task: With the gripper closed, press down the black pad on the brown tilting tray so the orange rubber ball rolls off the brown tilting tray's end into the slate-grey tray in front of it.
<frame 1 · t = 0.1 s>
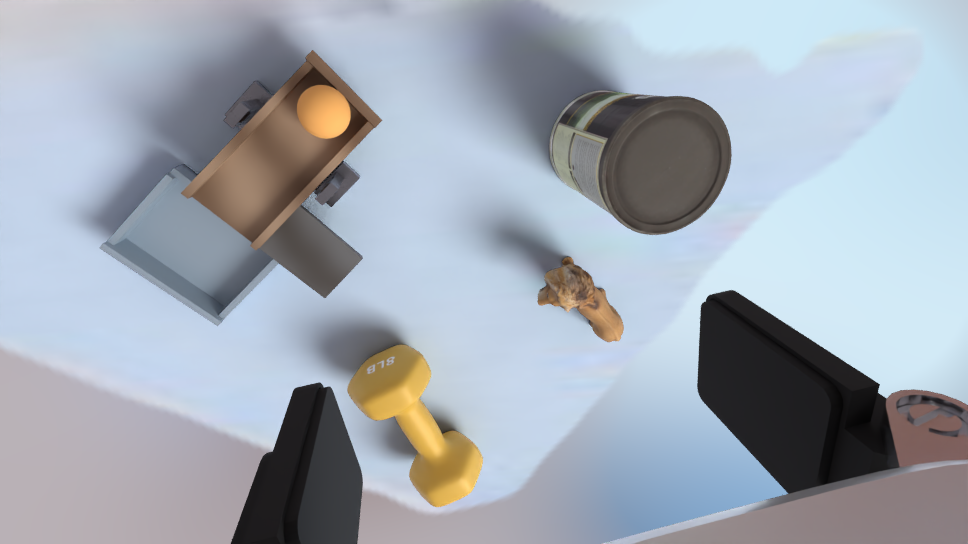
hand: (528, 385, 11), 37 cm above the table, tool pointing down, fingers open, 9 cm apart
brown tilting tray: (319, 184, 40), point 5 cm above the table, hinge at -10.0°, touching ball
lion figurine: (571, 288, 54), on the table
dumbbell: (418, 402, 57), on the table
lever stand: (297, 146, 43), on the table
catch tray: (207, 242, 45), on the table
ball: (324, 112, 37), point 6 cm above the table, touching brown tilting tray
coffee can: (595, 143, 48), on the table
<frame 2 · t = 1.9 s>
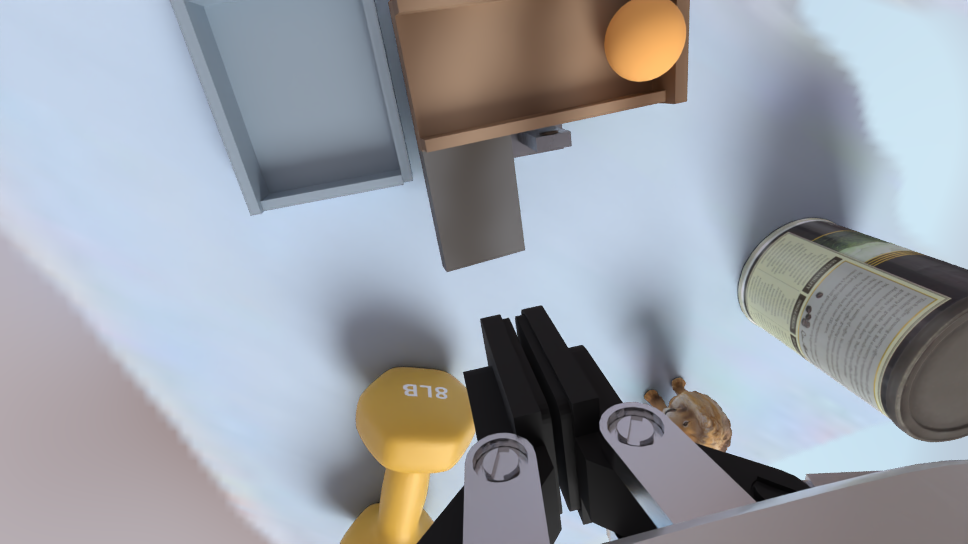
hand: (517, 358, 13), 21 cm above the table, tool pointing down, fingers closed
brown tilting tray: (549, 123, 26), point 5 cm above the table, hinge at -10.0°, touching ball
lion figurine: (657, 412, 43), on the table
dumbbell: (404, 449, 40), on the table
lever stand: (521, 59, 29), on the table
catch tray: (313, 94, 28), on the table
ball: (644, 39, 24), point 6 cm above the table, touching brown tilting tray
coffee can: (790, 274, 40), on the table
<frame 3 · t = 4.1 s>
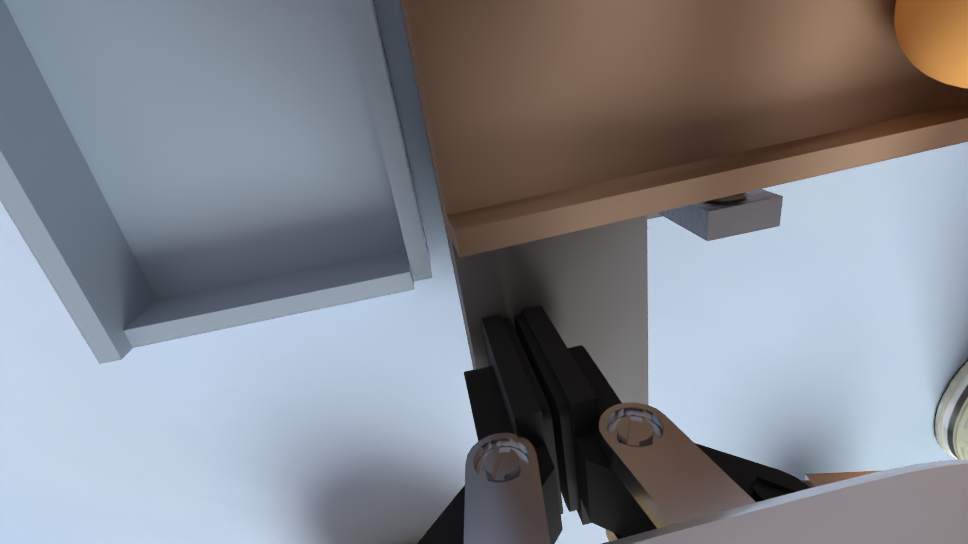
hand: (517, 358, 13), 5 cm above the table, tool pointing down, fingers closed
brown tilting tray: (729, 178, 12), point 5 cm above the table, hinge at -3.5°, touching ball, gripper
lever stand: (643, 40, 15), on the table
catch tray: (233, 111, 14), on the table
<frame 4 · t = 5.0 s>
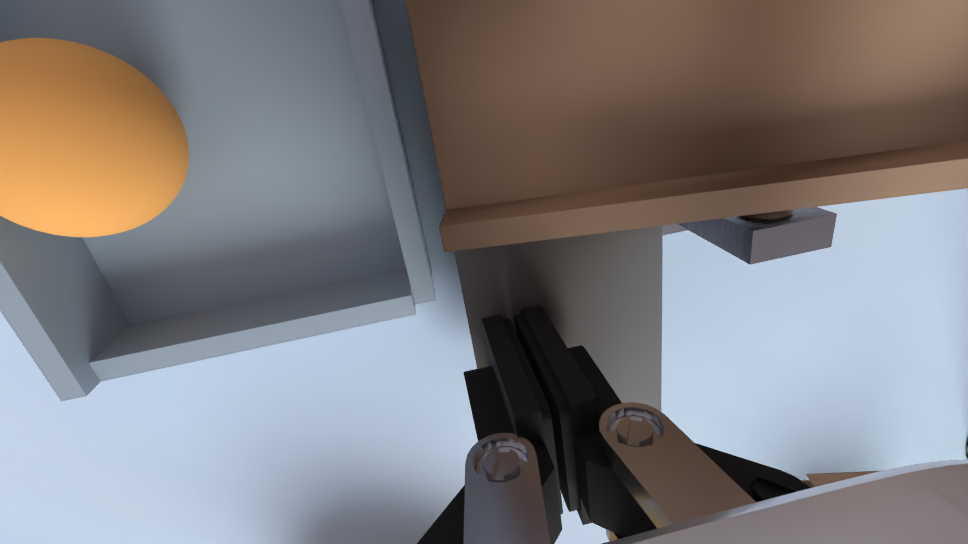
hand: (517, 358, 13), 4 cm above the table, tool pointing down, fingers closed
brown tilting tray: (770, 192, 11), point 5 cm above the table, hinge at 12.3°, touching gripper
lever stand: (668, 38, 14), on the table
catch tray: (213, 116, 13), on the table
ball: (77, 143, 10), point 3 cm above the table, tilted 110°
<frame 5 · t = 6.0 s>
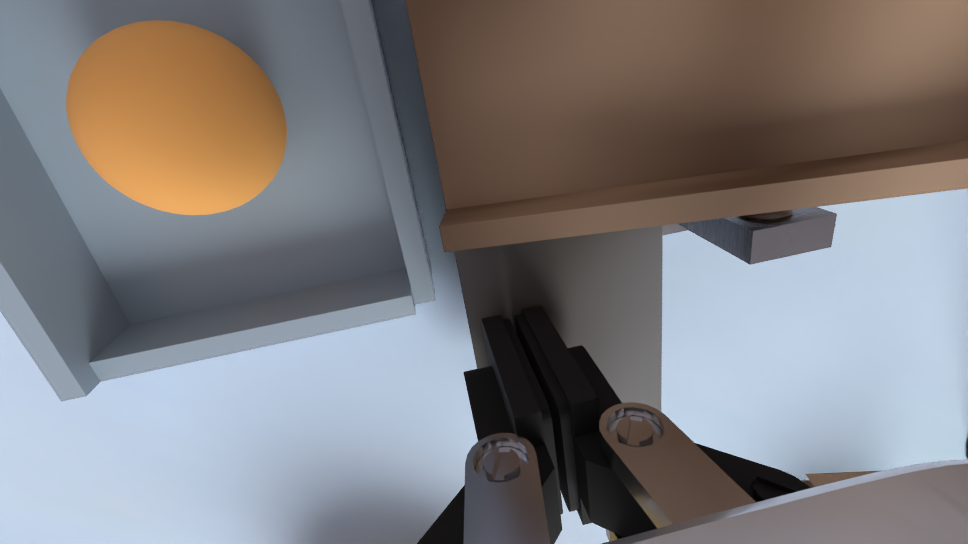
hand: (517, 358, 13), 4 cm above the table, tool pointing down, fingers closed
brown tilting tray: (770, 192, 11), point 5 cm above the table, hinge at 12.3°, touching gripper
lever stand: (668, 38, 14), on the table
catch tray: (213, 116, 13), on the table
ball: (188, 123, 10), point 3 cm above the table, tilted 163°, touching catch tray
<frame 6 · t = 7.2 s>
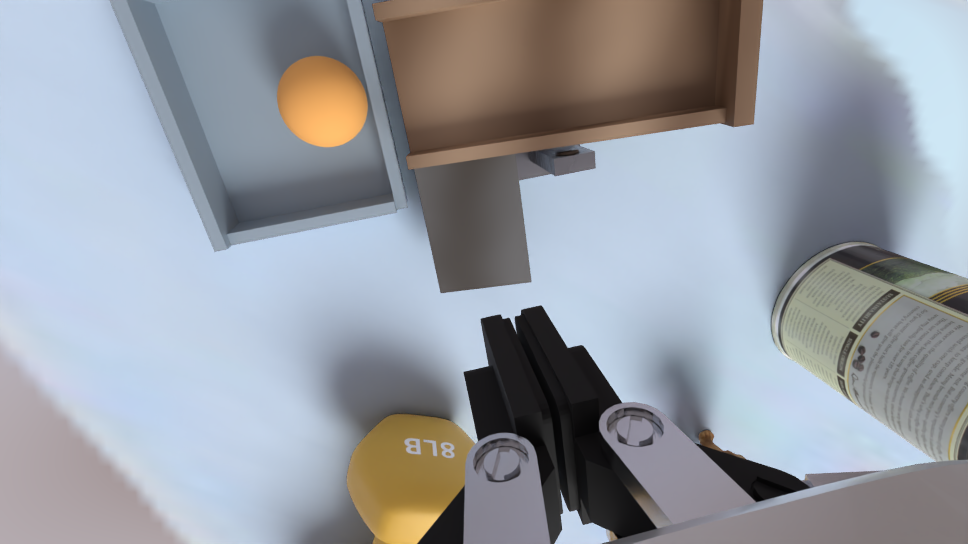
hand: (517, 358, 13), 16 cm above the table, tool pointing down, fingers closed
brown tilting tray: (566, 142, 22), point 5 cm above the table, hinge at 12.3°
dumbbell: (395, 503, 36), on the table
lever stand: (533, 66, 25), on the table
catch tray: (289, 107, 24), on the table
ball: (323, 103, 22), point 3 cm above the table, tilted 148°, touching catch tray
coffee can: (828, 303, 36), on the table
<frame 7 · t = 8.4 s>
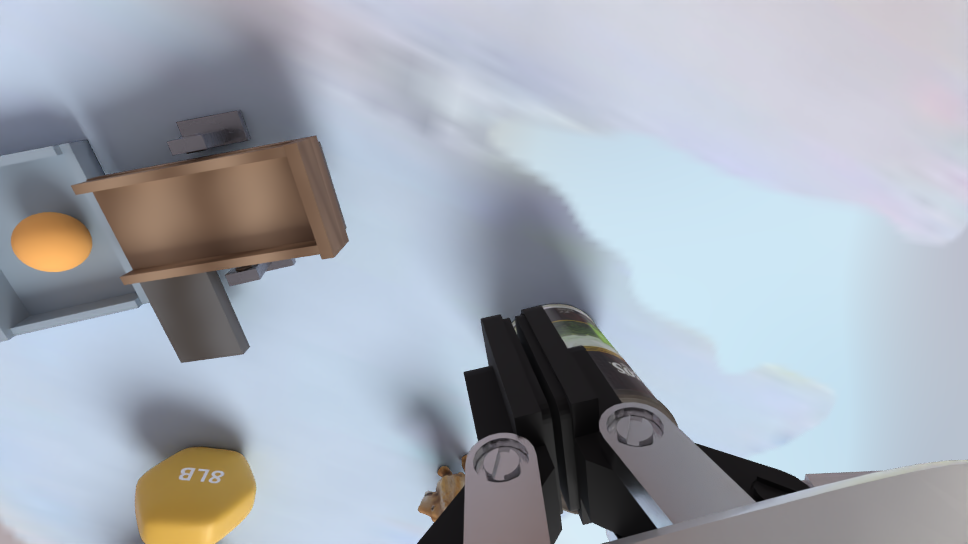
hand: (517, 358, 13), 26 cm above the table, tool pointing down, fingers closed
brown tilting tray: (240, 261, 32), point 5 cm above the table, hinge at 12.3°
lion figurine: (456, 483, 49), on the table
dumbbell: (207, 516, 45), on the table
lever stand: (242, 196, 35), on the table
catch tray: (58, 235, 33), on the table
ball: (53, 242, 31), point 3 cm above the table, tilted 170°, touching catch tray
coffee can: (547, 350, 45), on the table
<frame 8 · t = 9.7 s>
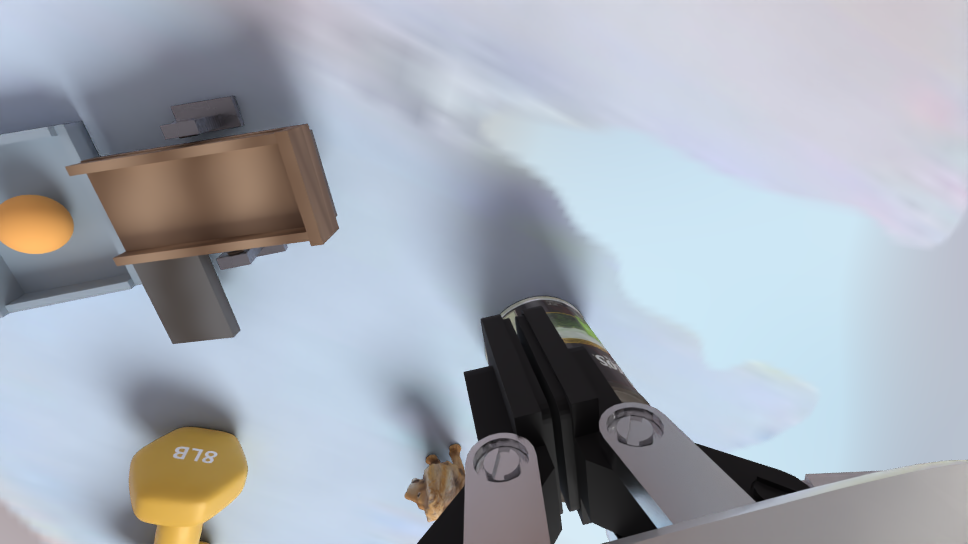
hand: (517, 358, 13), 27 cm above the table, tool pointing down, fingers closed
brown tilting tray: (231, 246, 32), point 5 cm above the table, hinge at 12.3°
lion figurine: (443, 471, 50), on the table
dumbbell: (197, 494, 46), on the table
lever stand: (235, 181, 35), on the table
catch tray: (52, 215, 34), on the table
ball: (34, 224, 32), point 3 cm above the table, tilted 166°, touching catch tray
coffee can: (535, 341, 45), on the table
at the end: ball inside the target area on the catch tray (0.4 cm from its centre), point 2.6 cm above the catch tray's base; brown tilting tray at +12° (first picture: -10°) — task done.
